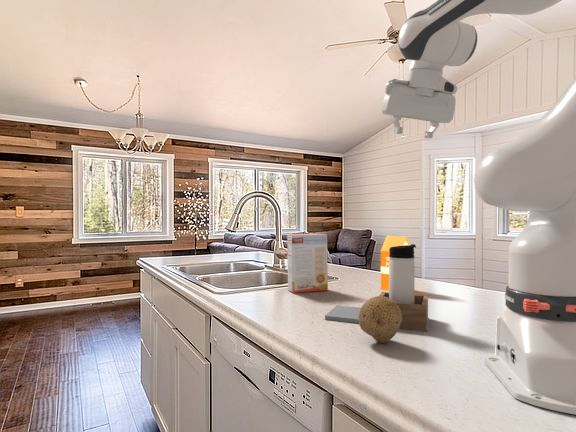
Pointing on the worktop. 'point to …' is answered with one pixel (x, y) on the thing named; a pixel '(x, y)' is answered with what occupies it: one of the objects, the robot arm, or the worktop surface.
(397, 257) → the travel mug
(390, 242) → the orange juice
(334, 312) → the mat
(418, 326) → the wooden box
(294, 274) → the cracker box
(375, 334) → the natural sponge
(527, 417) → the worktop surface
